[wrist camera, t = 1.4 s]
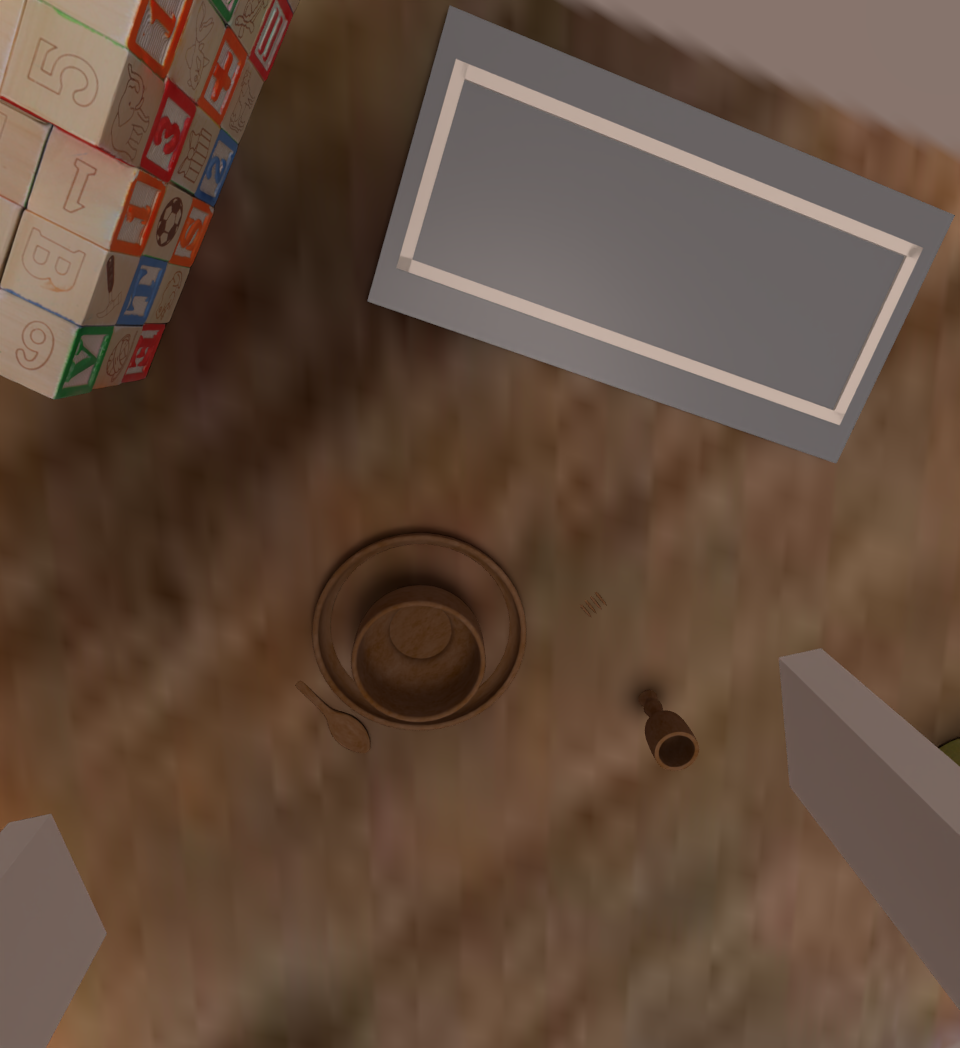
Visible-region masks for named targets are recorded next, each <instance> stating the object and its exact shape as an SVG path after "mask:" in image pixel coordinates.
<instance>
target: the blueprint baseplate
mask: <svg viewBox="0 0 960 1048" xmlns="http://www.w3.org/2000/svg"><path fill="white" fill-rule="evenodd" d="M954 216H955V215H953V214H950V213H948V212H946V211H943V210H941V209H938V208H936V207H933V206H931V205H929V204H926V203H924V202H921V201H919V200H917V199H914V198H912V197H909V196H907V195H905V194H902V193H900V192H897V191H895V190H893V189H890V188H888V187H885V186H883V185H881V184H878V183H876V182H873V181H871V180H868V179H866V178H864V177H861V176H859V175H856V174H854V173H852V172H849V171H847V170H844V169H842V168H840V167H837V166H835V165H832V164H830V163H828V162H825V161H823V160H820V159H818V158H816V157H813V156H811V155H808V154H806V153H803V152H801V151H799V150H796V149H794V148H791V147H789V146H787V145H784V144H782V143H779V142H777V141H775V140H772V139H770V138H767V137H765V136H763V135H760V134H758V133H755V132H753V131H751V130H748V129H746V128H743V127H741V126H739V125H736V124H734V123H731V122H729V121H726V120H724V119H722V118H719V117H717V116H714V115H712V114H710V113H707V112H705V111H702V110H700V109H698V108H695V107H693V106H690V105H688V104H686V103H683V102H681V101H678V100H676V99H674V98H671V97H669V96H666V95H664V94H661V93H659V92H657V91H654V90H652V89H649V88H647V87H645V86H642V85H640V84H637V83H635V82H633V81H630V80H628V79H625V78H623V77H621V76H618V75H616V74H613V73H611V72H609V71H606V70H604V69H601V68H599V67H597V66H594V65H592V64H589V63H587V62H584V61H582V60H580V59H577V58H575V57H572V56H570V55H568V54H565V53H563V52H560V51H558V50H556V49H553V48H551V47H548V46H546V45H544V44H541V43H539V42H536V41H534V40H532V39H529V38H527V37H524V36H522V35H519V34H517V33H515V32H512V31H510V30H507V29H505V28H503V27H500V26H498V25H495V24H493V23H491V22H488V21H486V20H483V19H481V18H479V17H476V16H474V15H471V14H469V13H467V12H464V11H462V10H459V9H457V8H454V7H452V6H449V10H448V13H447V17H446V21H445V24H444V28H443V31H442V35H441V39H440V42H439V46H438V49H437V53H436V57H435V60H434V64H433V67H432V71H431V75H430V78H429V82H428V85H427V89H426V93H425V96H424V100H423V103H422V107H421V111H420V114H419V118H418V121H417V125H416V128H415V132H414V136H413V139H412V143H411V146H410V150H409V154H408V157H407V161H406V164H405V168H404V172H403V175H402V179H401V182H400V186H399V190H398V193H397V197H396V200H395V204H394V208H393V211H392V215H391V218H390V222H389V225H388V229H387V233H386V236H385V240H384V243H383V247H382V251H381V254H380V258H379V261H378V265H377V269H376V272H375V276H374V279H373V283H372V287H371V290H370V294H369V297H368V302H371V303H374V304H377V305H380V306H382V307H385V308H388V309H391V310H394V311H397V312H400V313H403V314H406V315H409V316H411V317H414V318H417V319H420V320H423V321H426V322H429V323H432V324H435V325H437V326H440V327H443V328H446V329H449V330H452V331H455V332H458V333H461V334H463V335H466V336H469V337H472V338H475V339H478V340H481V341H484V342H487V343H489V344H492V345H495V346H498V347H501V348H504V349H507V350H510V351H513V352H515V353H518V354H521V355H524V356H527V357H530V358H533V359H536V360H539V361H542V362H544V363H547V364H550V365H553V366H556V367H559V368H562V369H565V370H568V371H570V372H573V373H576V374H579V375H582V376H585V377H588V378H591V379H594V380H596V381H599V382H602V383H605V384H608V385H611V386H614V387H617V388H620V389H622V390H625V391H628V392H631V393H634V394H637V395H640V396H643V397H646V398H648V399H651V400H654V401H657V402H660V403H663V404H666V405H669V406H672V407H675V408H677V409H680V410H683V411H686V412H689V413H692V414H695V415H698V416H701V417H703V418H706V419H709V420H712V421H715V422H718V423H721V424H724V425H727V426H729V427H732V428H735V429H738V430H741V431H744V432H747V433H750V434H753V435H755V436H758V437H761V438H764V439H767V440H770V441H773V442H776V443H779V444H781V445H784V446H787V447H790V448H793V449H796V450H799V451H802V452H805V453H808V454H810V455H813V456H816V457H819V458H822V459H825V460H828V461H831V462H834V463H837V461H838V459H839V457H840V455H841V453H842V451H843V449H844V446H845V444H846V442H847V440H848V438H849V436H850V434H851V432H852V430H853V428H854V425H855V423H856V421H857V419H858V417H859V415H860V413H861V411H862V409H863V407H864V405H865V402H866V400H867V398H868V396H869V394H870V392H871V390H872V388H873V386H874V384H875V381H876V379H877V377H878V375H879V373H880V371H881V369H882V367H883V365H884V363H885V360H886V358H887V356H888V354H889V352H890V350H891V348H892V346H893V344H894V342H895V340H896V337H897V335H898V333H899V331H900V329H901V327H902V325H903V323H904V321H905V319H906V316H907V314H908V312H909V310H910V308H911V306H912V304H913V302H914V300H915V298H916V296H917V293H918V291H919V289H920V287H921V285H922V283H923V281H924V279H925V277H926V275H927V272H928V270H929V268H930V266H931V264H932V262H933V260H934V258H935V256H936V254H937V252H938V249H939V247H940V245H941V243H942V241H943V239H944V237H945V235H946V233H947V231H948V228H949V226H950V224H951V222H952V220H953V218H954Z"/></svg>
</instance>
